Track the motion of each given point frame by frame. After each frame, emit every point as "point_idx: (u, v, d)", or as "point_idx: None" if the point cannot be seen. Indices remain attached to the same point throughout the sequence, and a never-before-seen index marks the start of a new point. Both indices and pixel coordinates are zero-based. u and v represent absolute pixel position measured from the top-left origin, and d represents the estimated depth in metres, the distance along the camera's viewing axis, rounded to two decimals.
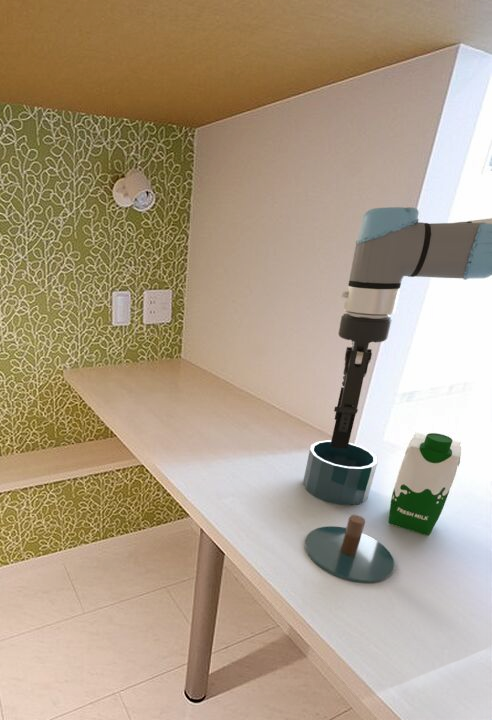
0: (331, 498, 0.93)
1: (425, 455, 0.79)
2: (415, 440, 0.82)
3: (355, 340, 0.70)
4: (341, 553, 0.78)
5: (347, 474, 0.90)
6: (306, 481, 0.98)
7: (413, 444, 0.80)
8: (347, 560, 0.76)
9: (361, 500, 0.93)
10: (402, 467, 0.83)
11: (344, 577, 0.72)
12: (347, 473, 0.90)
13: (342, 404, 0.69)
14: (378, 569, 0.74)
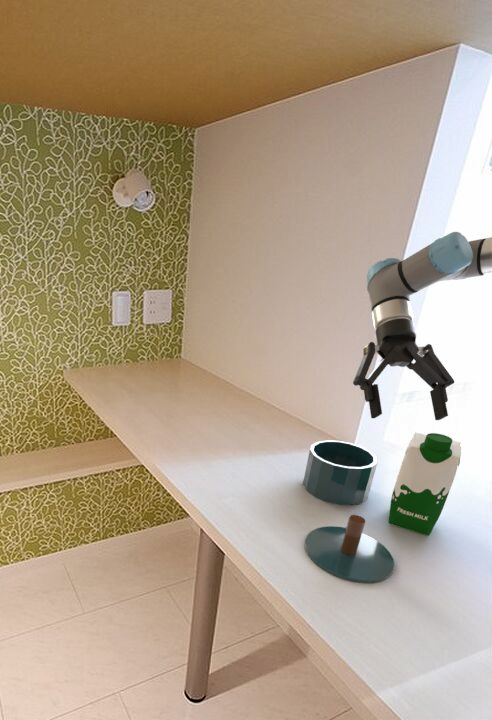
0: (331, 498, 0.93)
1: (425, 455, 0.78)
2: (415, 440, 0.82)
3: (377, 342, 0.95)
4: (341, 553, 0.78)
5: (347, 474, 0.90)
6: (306, 481, 0.98)
7: (413, 444, 0.80)
8: (347, 560, 0.76)
9: (361, 500, 0.93)
10: (402, 467, 0.83)
11: (344, 577, 0.72)
12: (347, 473, 0.90)
13: (354, 379, 0.92)
14: (378, 569, 0.74)
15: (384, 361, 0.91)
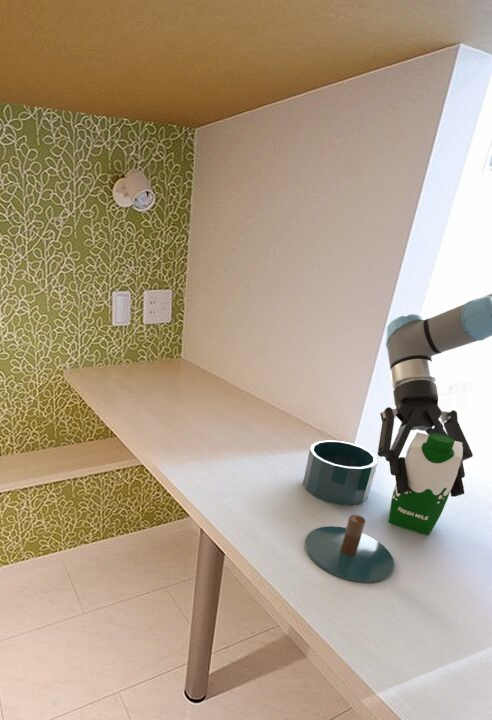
0: (331, 498, 0.93)
1: (427, 455, 0.78)
2: (417, 440, 0.81)
3: (395, 403, 0.89)
4: (341, 553, 0.78)
5: (347, 474, 0.90)
6: (306, 481, 0.98)
7: (415, 444, 0.80)
8: (347, 560, 0.76)
9: (361, 500, 0.93)
10: None
11: (344, 577, 0.72)
12: (347, 473, 0.90)
13: (378, 450, 0.86)
14: (378, 569, 0.74)
15: (406, 428, 0.85)
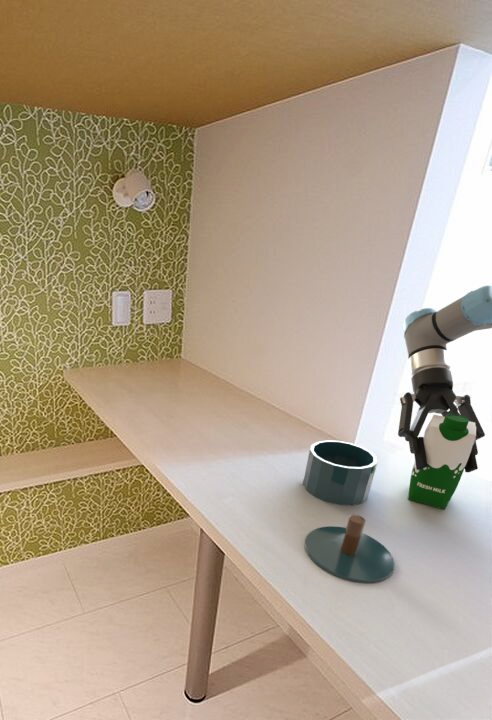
0: (331, 498, 0.93)
1: (444, 434, 0.87)
2: (434, 421, 0.90)
3: (413, 389, 0.98)
4: (341, 553, 0.78)
5: (347, 474, 0.90)
6: (306, 481, 0.98)
7: (433, 424, 0.89)
8: (347, 560, 0.76)
9: (361, 500, 0.93)
10: None
11: (344, 577, 0.72)
12: (347, 473, 0.90)
13: (398, 431, 0.95)
14: (378, 569, 0.74)
15: (424, 411, 0.94)
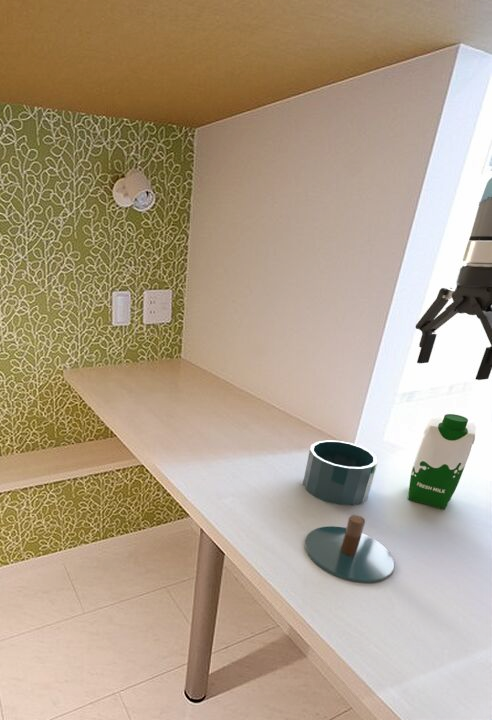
0: (331, 498, 0.93)
1: (443, 433, 0.87)
2: (433, 421, 0.90)
3: None
4: (341, 553, 0.78)
5: (347, 474, 0.90)
6: (306, 481, 0.98)
7: (432, 424, 0.89)
8: (347, 560, 0.76)
9: (361, 500, 0.93)
10: (421, 445, 0.92)
11: (344, 577, 0.72)
12: (347, 473, 0.90)
13: (424, 322, 1.00)
14: (378, 569, 0.74)
15: (445, 311, 0.93)
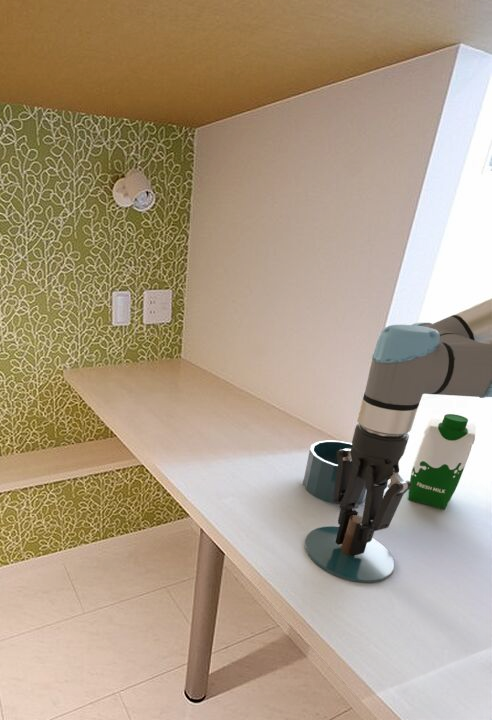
0: (331, 498, 0.93)
1: (443, 433, 0.87)
2: (433, 421, 0.90)
3: None
4: (341, 553, 0.78)
5: None
6: (306, 481, 0.98)
7: (432, 424, 0.89)
8: (347, 560, 0.76)
9: (361, 500, 0.93)
10: (421, 445, 0.92)
11: (344, 577, 0.72)
12: None
13: None
14: (378, 569, 0.74)
15: (351, 480, 0.74)
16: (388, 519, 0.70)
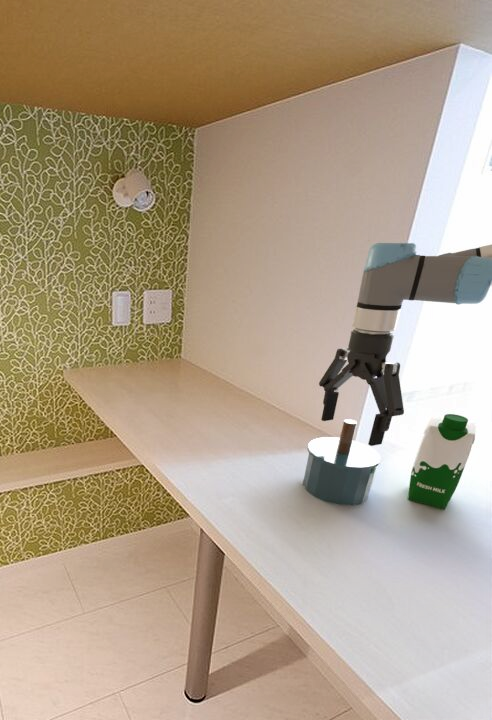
0: (331, 498, 0.93)
1: (443, 433, 0.87)
2: (433, 421, 0.90)
3: None
4: (337, 452, 0.94)
5: (347, 474, 0.90)
6: (306, 481, 0.98)
7: (432, 424, 0.89)
8: (342, 456, 0.93)
9: (361, 500, 0.93)
10: (421, 445, 0.92)
11: (339, 466, 0.89)
12: (347, 473, 0.90)
13: (328, 379, 0.98)
14: (367, 461, 0.91)
15: (342, 372, 0.91)
16: (399, 402, 0.81)
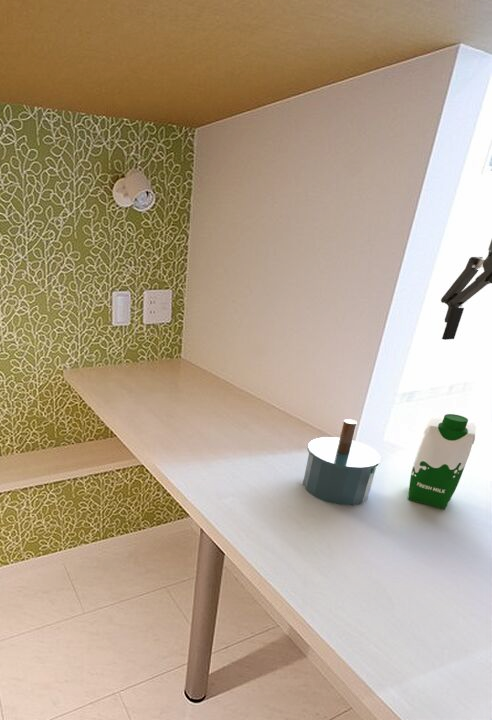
0: (331, 498, 0.93)
1: (443, 433, 0.87)
2: (433, 421, 0.90)
3: None
4: (337, 452, 0.94)
5: (347, 474, 0.90)
6: (306, 481, 0.98)
7: (432, 424, 0.89)
8: (342, 456, 0.93)
9: (361, 500, 0.93)
10: (421, 445, 0.92)
11: (339, 466, 0.89)
12: (347, 473, 0.90)
13: (450, 295, 0.93)
14: (367, 461, 0.91)
15: (475, 282, 0.86)
16: None
